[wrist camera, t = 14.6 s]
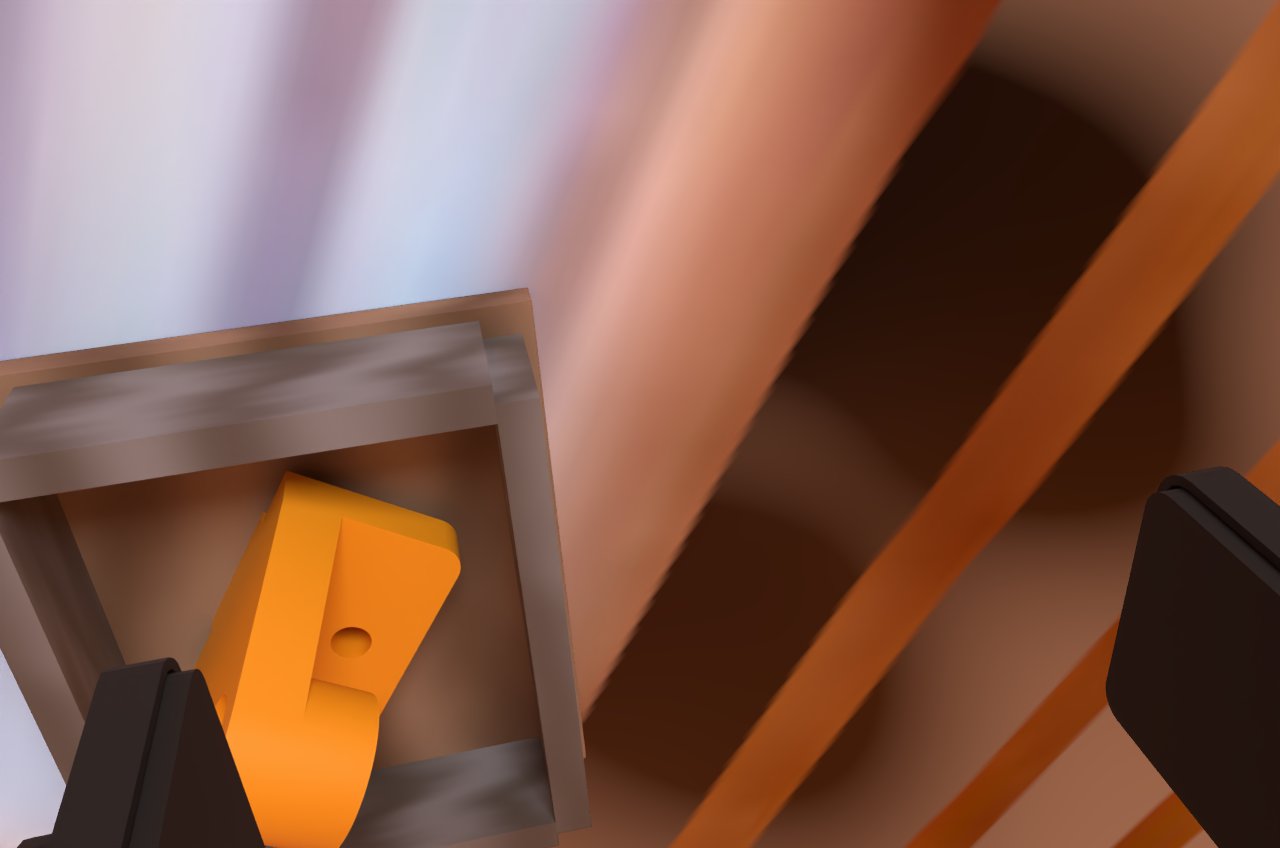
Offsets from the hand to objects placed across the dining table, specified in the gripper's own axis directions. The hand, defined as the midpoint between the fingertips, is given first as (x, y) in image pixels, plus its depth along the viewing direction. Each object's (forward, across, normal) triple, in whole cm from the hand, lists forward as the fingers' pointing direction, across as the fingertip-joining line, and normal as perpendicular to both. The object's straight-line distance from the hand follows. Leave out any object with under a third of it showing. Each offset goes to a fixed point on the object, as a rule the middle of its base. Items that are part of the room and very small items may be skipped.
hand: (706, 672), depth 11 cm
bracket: (+29, +9, +20) cm, 37 cm away
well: (+30, +9, +21) cm, 38 cm away
